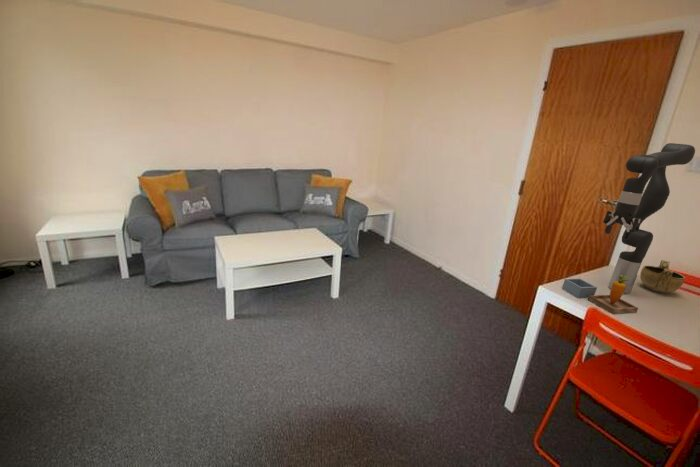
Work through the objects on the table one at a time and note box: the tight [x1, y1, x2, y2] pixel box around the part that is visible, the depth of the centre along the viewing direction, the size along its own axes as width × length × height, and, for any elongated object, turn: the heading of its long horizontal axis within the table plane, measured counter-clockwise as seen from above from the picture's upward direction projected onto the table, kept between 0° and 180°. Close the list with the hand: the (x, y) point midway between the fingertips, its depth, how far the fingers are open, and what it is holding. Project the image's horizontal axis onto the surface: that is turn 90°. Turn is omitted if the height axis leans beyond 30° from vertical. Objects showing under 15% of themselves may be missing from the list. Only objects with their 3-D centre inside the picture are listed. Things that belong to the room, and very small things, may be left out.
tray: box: [587, 294, 639, 315], centre depth 156 cm, size 14×12×2 cm
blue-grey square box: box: [561, 278, 598, 299], centre depth 166 cm, size 10×10×6 cm
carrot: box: [609, 275, 629, 304], centre depth 154 cm, size 5×5×15 cm
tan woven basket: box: [639, 259, 686, 294], centre depth 178 cm, size 22×17×15 cm
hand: (616, 236), depth 154 cm, fingers open, 8 cm apart
